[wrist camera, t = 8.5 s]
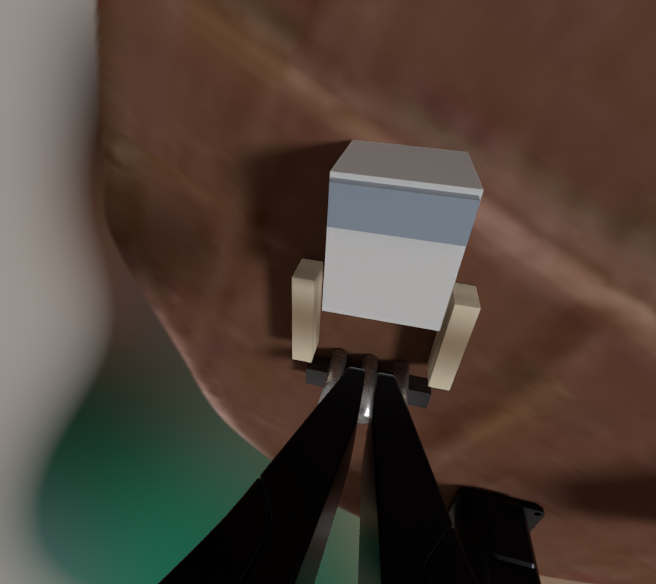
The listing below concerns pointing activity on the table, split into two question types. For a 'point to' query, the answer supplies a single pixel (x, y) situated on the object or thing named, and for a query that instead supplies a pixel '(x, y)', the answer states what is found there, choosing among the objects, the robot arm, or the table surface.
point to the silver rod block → (367, 379)
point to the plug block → (397, 231)
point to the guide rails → (445, 345)
